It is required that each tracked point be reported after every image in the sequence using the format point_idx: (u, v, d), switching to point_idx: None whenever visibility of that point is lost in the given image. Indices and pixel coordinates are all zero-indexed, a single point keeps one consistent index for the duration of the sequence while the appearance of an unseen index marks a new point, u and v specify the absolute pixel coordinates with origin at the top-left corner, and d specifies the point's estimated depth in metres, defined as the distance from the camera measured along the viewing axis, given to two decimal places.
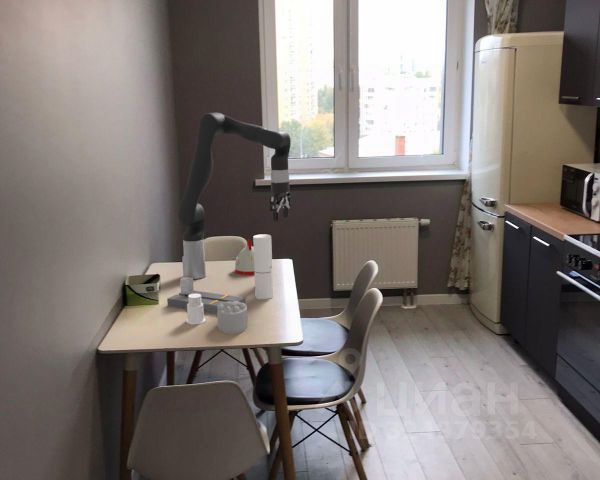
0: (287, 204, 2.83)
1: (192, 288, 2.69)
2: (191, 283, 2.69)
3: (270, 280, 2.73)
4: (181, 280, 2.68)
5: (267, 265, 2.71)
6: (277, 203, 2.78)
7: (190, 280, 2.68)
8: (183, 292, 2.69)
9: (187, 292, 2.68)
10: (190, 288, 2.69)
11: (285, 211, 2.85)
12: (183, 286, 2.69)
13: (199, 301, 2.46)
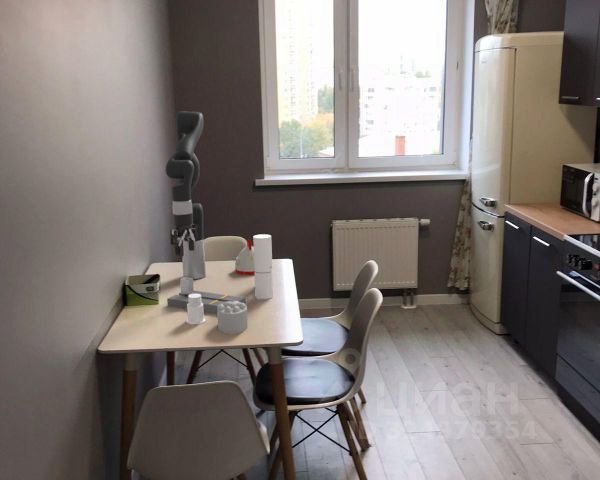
0: (191, 236, 2.67)
1: (192, 288, 2.69)
2: (191, 283, 2.69)
3: (270, 280, 2.73)
4: (181, 280, 2.68)
5: (267, 265, 2.71)
6: (179, 236, 2.63)
7: (190, 280, 2.68)
8: (183, 292, 2.69)
9: (187, 292, 2.68)
10: (190, 288, 2.69)
11: (190, 244, 2.70)
12: (183, 286, 2.69)
13: (199, 301, 2.46)
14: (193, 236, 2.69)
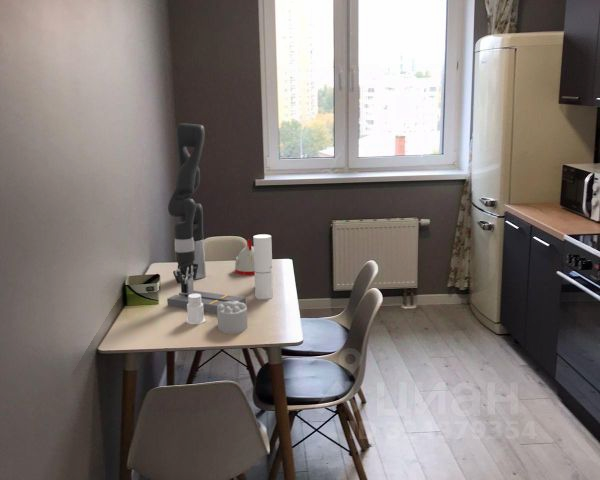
0: (191, 275, 2.69)
1: (192, 288, 2.69)
2: (191, 283, 2.69)
3: (270, 280, 2.73)
4: None
5: (267, 265, 2.71)
6: None
7: (190, 280, 2.68)
8: None
9: (187, 292, 2.68)
10: (190, 288, 2.69)
11: None
12: None
13: (199, 301, 2.46)
14: (191, 276, 2.70)
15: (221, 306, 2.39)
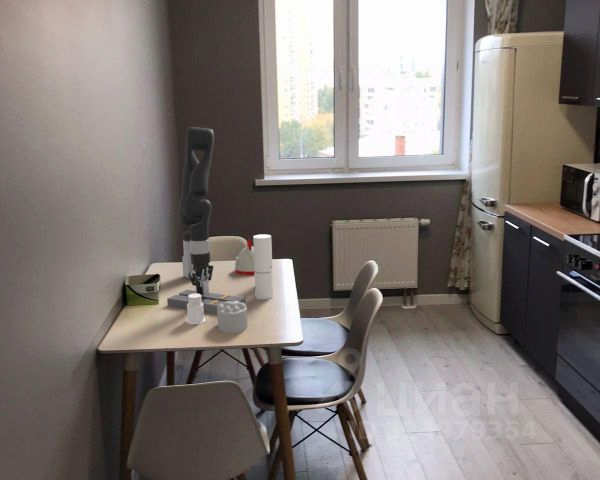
0: (206, 277, 2.66)
1: (207, 291, 2.66)
2: (206, 285, 2.66)
3: (270, 280, 2.73)
4: None
5: (267, 265, 2.71)
6: None
7: (205, 282, 2.65)
8: None
9: None
10: (205, 290, 2.65)
11: None
12: None
13: (199, 301, 2.46)
14: (207, 278, 2.67)
15: (221, 306, 2.39)
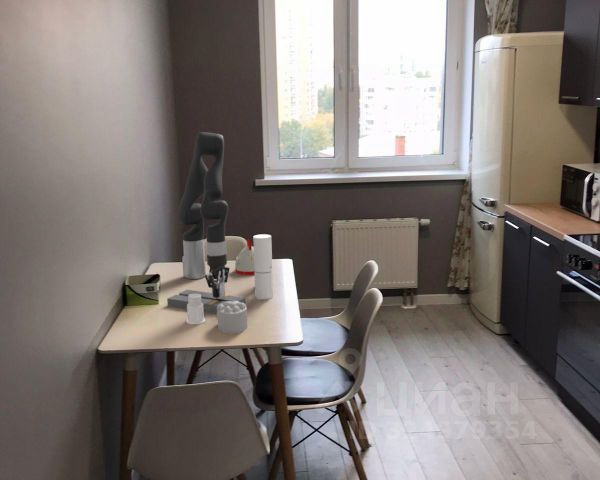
0: (223, 279, 2.62)
1: (223, 293, 2.63)
2: (223, 287, 2.62)
3: (270, 280, 2.73)
4: None
5: (267, 265, 2.71)
6: None
7: (222, 284, 2.61)
8: None
9: (219, 296, 2.62)
10: (222, 292, 2.62)
11: None
12: None
13: (199, 301, 2.46)
14: (223, 280, 2.63)
15: (221, 306, 2.39)
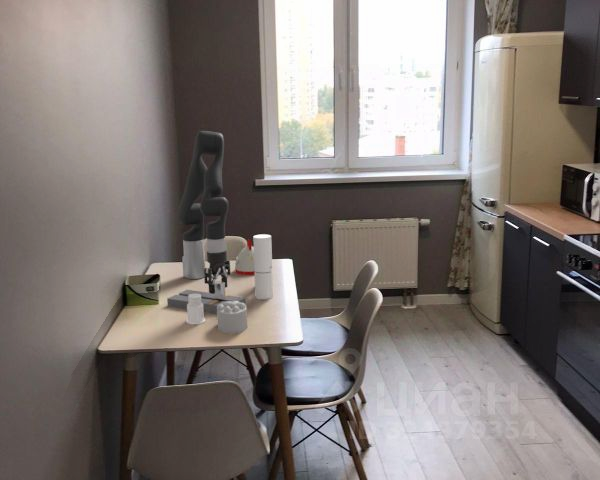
0: (225, 274, 2.63)
1: (223, 293, 2.63)
2: (223, 287, 2.62)
3: (270, 280, 2.73)
4: None
5: (267, 265, 2.71)
6: (213, 274, 2.59)
7: (222, 284, 2.61)
8: (215, 296, 2.63)
9: (219, 296, 2.62)
10: (222, 292, 2.62)
11: (223, 280, 2.66)
12: (215, 290, 2.62)
13: (199, 301, 2.46)
14: (226, 273, 2.65)
15: (221, 306, 2.39)
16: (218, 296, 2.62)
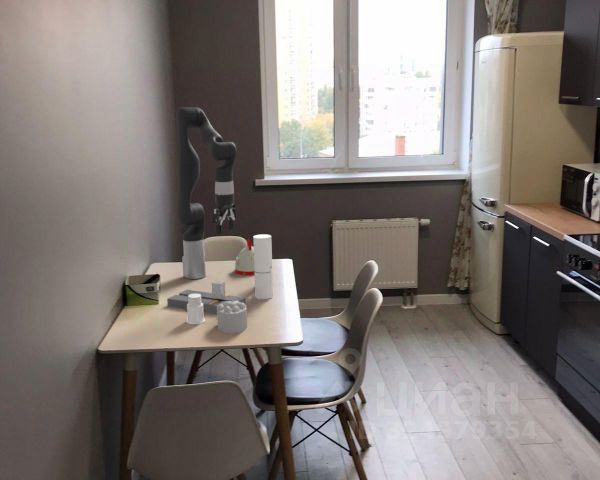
0: (232, 216, 2.78)
1: (223, 293, 2.63)
2: (223, 287, 2.62)
3: (270, 280, 2.73)
4: (213, 284, 2.62)
5: (267, 265, 2.71)
6: (221, 215, 2.74)
7: (222, 284, 2.61)
8: (215, 296, 2.63)
9: (219, 296, 2.62)
10: (222, 292, 2.62)
11: (230, 223, 2.80)
12: (215, 290, 2.62)
13: (199, 301, 2.46)
14: (233, 216, 2.79)
15: (221, 306, 2.39)
16: (218, 296, 2.62)
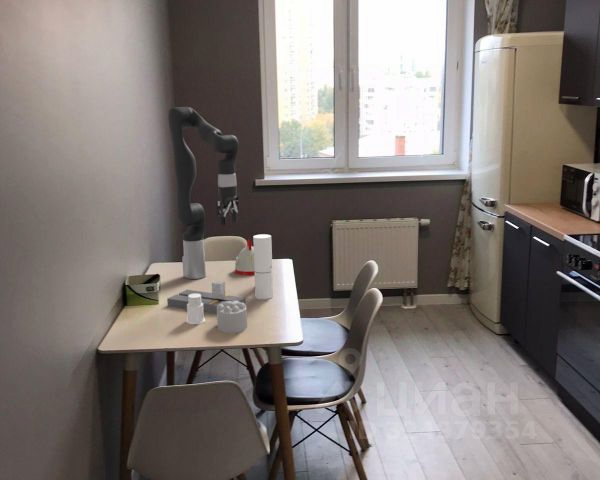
0: (235, 208, 2.83)
1: (223, 293, 2.63)
2: (223, 287, 2.62)
3: (270, 280, 2.73)
4: (213, 284, 2.62)
5: (267, 265, 2.71)
6: (224, 207, 2.78)
7: (222, 284, 2.61)
8: (215, 296, 2.63)
9: (219, 296, 2.62)
10: (222, 292, 2.62)
11: (234, 215, 2.85)
12: (215, 290, 2.62)
13: (199, 301, 2.46)
14: (236, 208, 2.84)
15: (221, 306, 2.39)
16: (218, 296, 2.62)
